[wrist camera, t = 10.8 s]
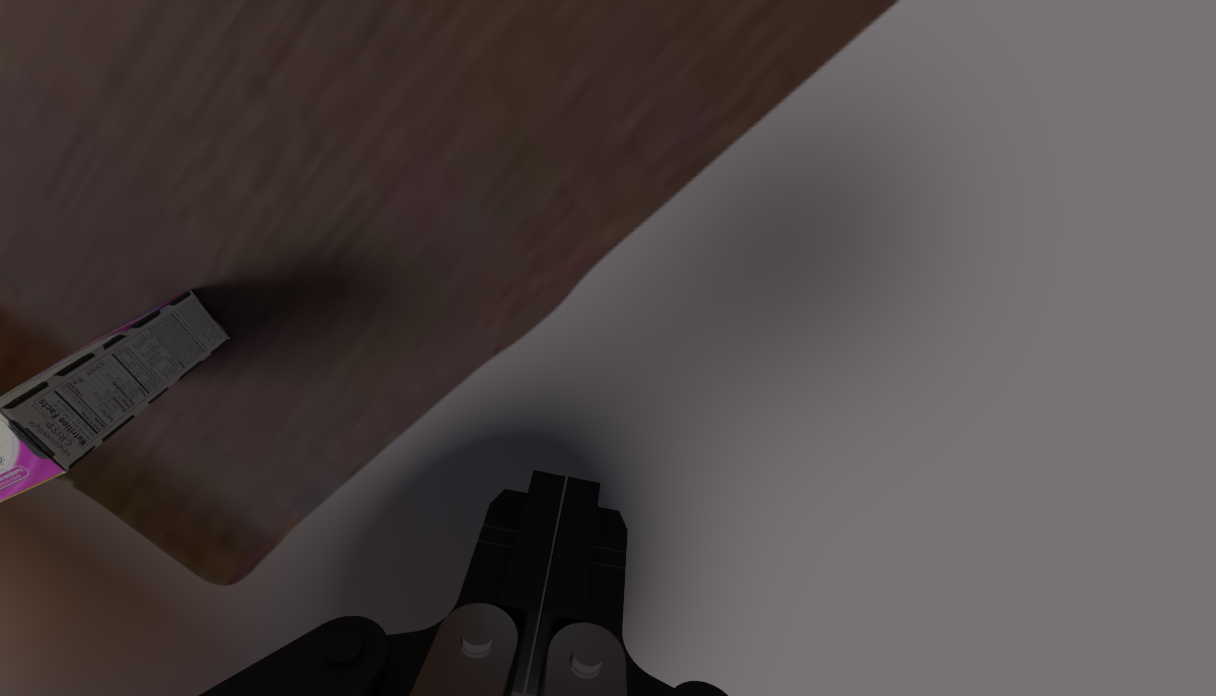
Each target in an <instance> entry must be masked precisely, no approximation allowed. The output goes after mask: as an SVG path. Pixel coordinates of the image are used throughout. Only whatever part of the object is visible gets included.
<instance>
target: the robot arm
mask: <svg viewBox="0 0 1216 696" xmlns="http://www.w3.org/2000/svg"><path fill="white" fill-rule="evenodd" d="M564 481H565V476H562V475H557V474H552V473H546V472H541V471H536V470H534V471H533V474H532V478H531V482H530V486H529V489H528V493H524V492H518V491H513V490H508V489H505V490H504V491H502V492H501V494H499V495H498V497H497V498H495V499H494V500H493V501H492V502H491V503H490V506H489V508H488V511H487V514H486V517H485V520H484V524H483V527H482V529H481V532H480V535H479V539H478V542H477V544H476V547H475V550H474V553H473V556H472V559H471V562H470V565H469V568H468V571H467V574H466V577H465V580H464V583H463V586H462V589H461V592H460V595H459V598H458V601H457V603H456V605H455V607H454V608H453V610H452V611H451V612H450V613H449V614H448V616H446V617H445V618H444V619H443V620H442V621H440V622H439V623H437V624H436V625H434V626H432V627H429V628H427V629H424V630H421V631H415V632H409V633H401V634H392V635H386V633H385V632H384V630H383V629H382V628H381V627H380V626H379V625H378V624H377V623H375V622H374V621H372V620H370V619H368V618H365V617H360V616H345V617H340V618H336V619H333V620H330V621H328V622H326V623H324V624H322V625H321V626H319V627H317V628H315V629H314V630H312V631H310V632H308V633H307V634H305V635H303V636H301V637H300V638H298V639H296V640H294V641H293V642H291V643H289V644H287V645H286V646H284V647H282V648H280V649H279V650H277V651H275V652H274V653H272V654H270V655H268V656H267V657H265V658H263V659H261V660H260V661H258V662H256V663H254V664H253V665H251V666H249V667H247V668H246V669H244V670H242V671H241V672H239V673H237V674H235V675H234V676H232V677H230V678H228V679H227V680H225V681H223V682H221V683H220V684H218V685H216V686H214V687H213V688H211V689H209V690H208V691H206V692H204V693H202V694H201V695H199V696H511V695H512V691H513V692H519V693H522V692H523V687H524V683H525V678H526V673H527V668H528V664H529V658H530V654H531V649H532V645H533V640H534V635H535V630H536V625H537V620H538V616H539V611H540V606H541V600H542V595H543V590H544V585H545V580H546V574H547V569H548V564H549V559H550V554H551V548H552V543H553V538H554V533H555V528H556V523H557V518H558V513H559V507H560V502H561V497H562V492H563V487H564ZM599 489H600V483H598V482H593V481H588V480H583V479H578V478H573V477H568V481H567V485H566V490H565V495H564V500H563V505H562V510H561V514H560V519H559V524H558V529H557V533H556V539H555V544H554V548H553V553H552V559H551V564H550V569H549V574H548V580H547V585H546V590H545V595H544V601H543V607H542V611H541V616H540V622H539V627H538V632H537V638H536V643H535V648H534V654H533V659H532V664H531V669H530V674H529V680H528V685H527V690H526V694H531V695H536V696H728V695H727V694H726V693H724V692H723V691H722V690H720V689H719V688H717V687H716V686H713V685H711V684H708V683H706V682H701V681H689V682H684V683H682V684H680V685H678V686H677V687H675V688H673V687H671V686H669V685H667V684H665V683H663V682H662V681H660V680H658V679H656V678H654V677H652V676H651V675H649V674H647V673H646V672H644V671H643V670H642V669H641V668H639V666H638V665H637V664H636V663H635V662H634V661H633V660H632V658H631V657H630V656H629V654H628V652H627V650H626V648H625V645H624V642H623V637H622V622H623V603H624V586H625V566H626V549H627V528H626V526H625V523H624V521H623V519H622V516H621V514H620V512H619V511H617V510H612V509H607V508H602V507H598V497H599Z"/></svg>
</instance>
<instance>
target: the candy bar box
mask: <svg viewBox="0 0 1216 696" xmlns="http://www.w3.org/2000/svg"><path fill="white" fill-rule="evenodd" d="M229 340H230V337H229V335H228V334H227V332H226V331H225V330H224V328H223V327H222V326H221V325H220V324H219V323H218V322H217V321H216V319H215V318H214V317H213V316H212V315H211V314H210V313H209V311H208V310H207V309H206V307H205V306H204V305H203V304H202V302H201V301H200V300H199V299H198V298H197V296H196V295H195V294H194V293H193V292H192V291H191V290H189V291H187V292H185V293H183V294H181V295H179V296H177V297H175V298H173V299H171V300H169V301H167V302H165V303H163V304H161V305H159V306H157V307H155V308H153V309H151V310H150V311H148V312H146V313H144V314H142V315H140V316H138V317H136V318H134V319H132V320H131V321H129V322H127V323H125V324H123V325H121V326H119V327H117V328H116V329H114V330H112V331H110V332H108V333H106V334H104V335H102V336H100V337H98V338H96V339H94V340H92V341H91V342H89V343H88V344H87V345H85V346H84V347H82V348H80V349H79V350H77V351H75V352H74V353H72V354H70V355H69V356H67V357H65V358H64V359H62V360H60V361H59V362H57V363H56V364H54V365H52V366H51V367H49V368H47V369H46V370H44V371H42V372H41V373H39V374H37V375H36V376H34V377H33V378H31V379H29V380H28V381H26V382H24V383H23V384H21V385H19V386H18V387H16V388H14V389H13V390H11V391H9V392H8V393H6V394H4V395H3V396H1V397H0V502H2V501H4V500H6V499H8V498H11V497H13V496H15V495H17V494H20V493H22V492H24V491H26V490H28V489H31V488H33V487H35V486H37V485H40V484H42V483H44V482H46V481H49V480H50V479H53V478H55V477H57V476H60V475H62V474H64V473H66V472H67V471H68V470H69V469H71V468H72V467H73V466H74V465H76V464H77V463H78V462H79V461H81V460H82V459H83V458H84V457H85V456H87V455H88V454H89V453H90V452H91V451H92V450H94V449H95V448H97V447H98V446H99V445H100V444H101V443H103V442H104V441H105V440H107V439H108V438H109V437H111V436H112V435H113V434H114V433H115V432H117V431H118V430H119V429H120V428H122V427H123V426H124V425H125V424H127V423H128V422H129V421H130V420H132V419H133V418H134V417H135V416H136V415H138V414H139V413H140V412H141V411H142V410H144V409H145V408H146V407H147V406H148V405H150V404H151V403H152V402H153V401H154V400H156V399H157V398H158V397H159V396H161V395H162V394H163V393H164V392H165V391H167V390H168V389H169V388H171V387H172V386H173V385H174V384H176V383H177V382H178V381H179V380H181V379H182V378H183V377H184V376H186V375H187V374H188V373H189V372H191V371H192V370H193V369H194V368H196V367H197V366H198V365H199V364H201V363H202V362H203V361H204V360H206V359H207V358H208V357H209V356H211V355H212V354H213V353H214V352H216V351H217V350H218V349H219V348H221V347H222V346H223V345H224V344H226V343H227V342H228V341H229Z"/></svg>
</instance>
